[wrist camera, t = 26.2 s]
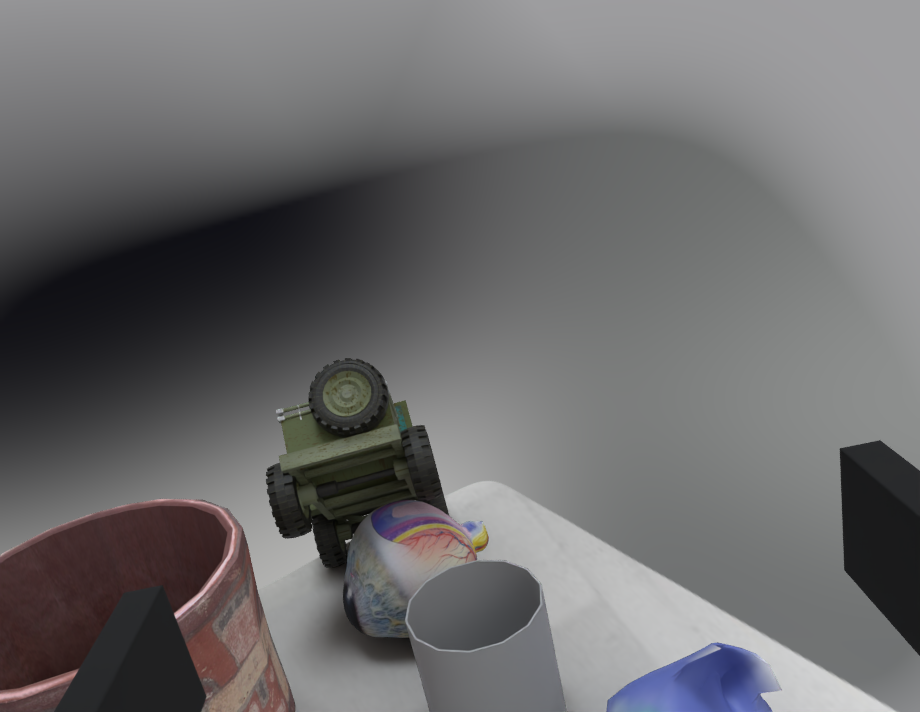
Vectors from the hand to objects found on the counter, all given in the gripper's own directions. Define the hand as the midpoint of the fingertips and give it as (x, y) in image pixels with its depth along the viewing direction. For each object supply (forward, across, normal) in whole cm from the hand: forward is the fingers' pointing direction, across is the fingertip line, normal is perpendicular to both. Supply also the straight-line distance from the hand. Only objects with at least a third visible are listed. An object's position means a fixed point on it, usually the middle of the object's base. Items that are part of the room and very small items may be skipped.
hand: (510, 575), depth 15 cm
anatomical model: (+39, -6, -30) cm, 50 cm away
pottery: (+24, -23, -30) cm, 45 cm away
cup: (+26, -3, -30) cm, 40 cm away
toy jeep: (+41, -10, -23) cm, 49 cm away
